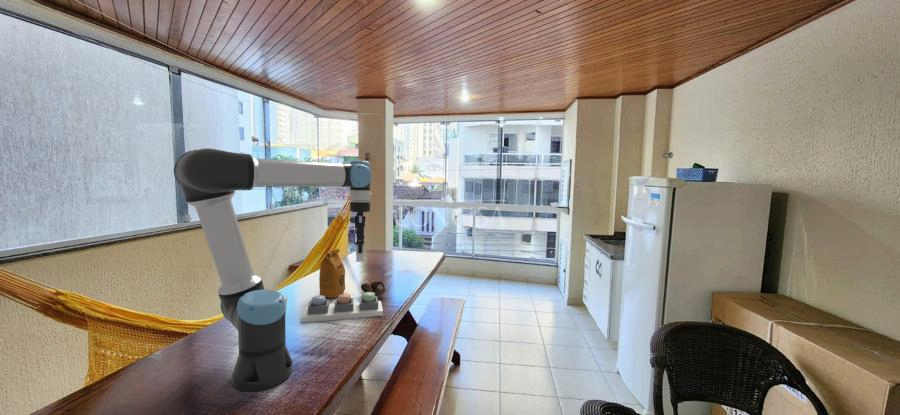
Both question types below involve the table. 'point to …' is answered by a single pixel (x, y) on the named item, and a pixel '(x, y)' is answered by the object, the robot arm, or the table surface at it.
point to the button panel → (342, 310)
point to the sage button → (368, 297)
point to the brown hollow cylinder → (373, 288)
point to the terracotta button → (344, 298)
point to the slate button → (318, 300)
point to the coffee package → (332, 275)
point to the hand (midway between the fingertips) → (359, 258)
